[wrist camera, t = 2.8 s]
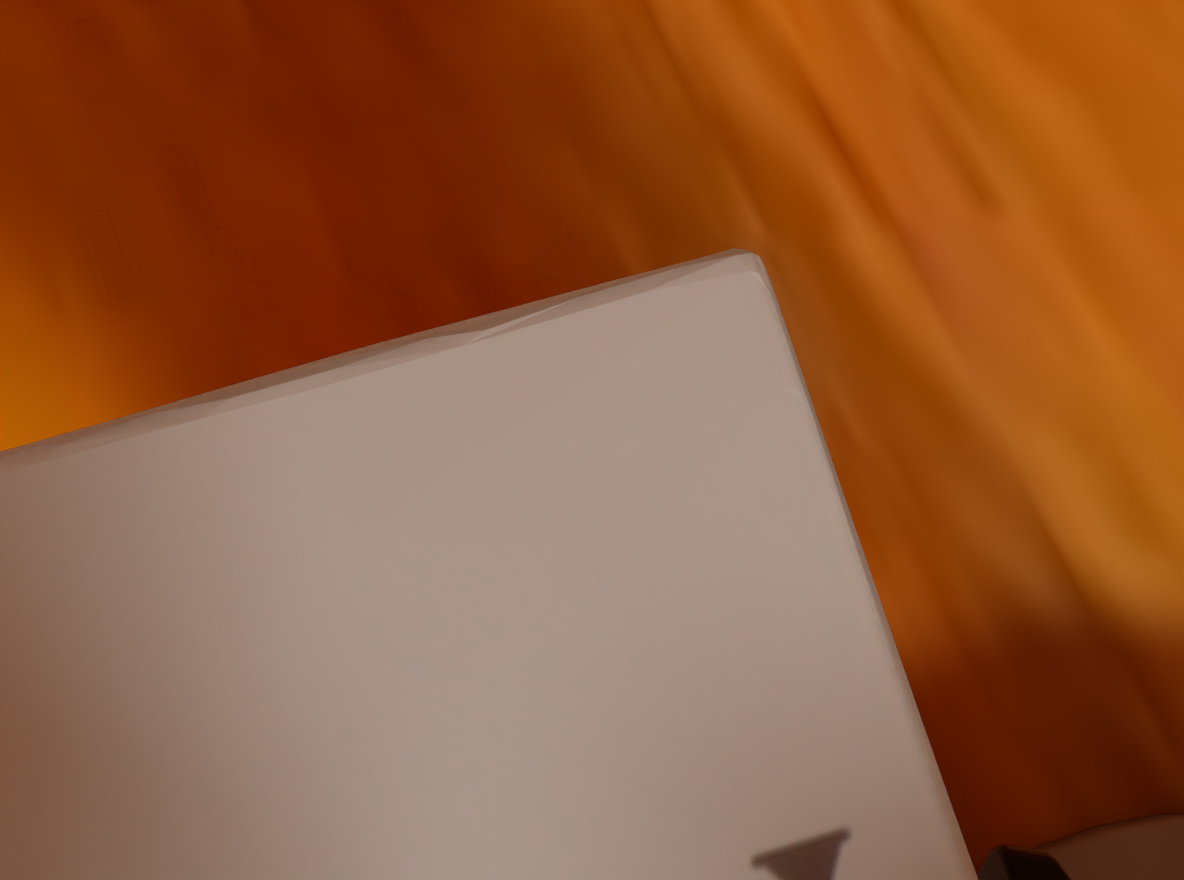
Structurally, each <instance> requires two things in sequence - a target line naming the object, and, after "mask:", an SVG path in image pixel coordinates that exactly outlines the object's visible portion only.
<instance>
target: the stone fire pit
mask: <svg viewBox="0 0 1184 880" xmlns="http://www.w3.org/2000/svg"><path fill="white" fill-rule="evenodd" d="M1035 849H1038V850H1042V851H1045V852H1047V853H1049V854H1050V855H1051V856H1053V857H1054V858H1055V859H1056V860H1057V861H1058V862H1059V863H1060V865H1061V866H1062V867H1063V869H1064V870H1065V871H1066V873H1067V874H1068V875H1069V877H1070V878H1071V879H1072V880H1184V814H1164V815H1153V816H1148V817H1142V818H1137V819H1132V820H1127V821H1121V822H1116V823H1111V824H1106V825H1100V826H1096V827H1093V828H1090V829H1088V830H1085V831H1082V832H1079V833H1076V834H1073V835H1070V836H1067V837H1064V838H1061V839H1058V840H1055V841H1052V842H1050V843H1047V844H1044V845H1041V846H1039V847H1037V848H1035Z"/></svg>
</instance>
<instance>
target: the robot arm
mask: <svg viewBox="0 0 1184 880" xmlns="http://www.w3.org/2000/svg"><path fill="white" fill-rule="evenodd" d="M977 878H978V880H1072V879H1071V878H1070V877H1069V875H1068V874H1067V873H1066V871H1065V870H1064V869H1063V867H1062V866H1061V865H1060V863H1059V862H1058V861H1057V860H1056V859H1055V858H1054V857H1053V856H1051V855H1050V854H1049V853H1047V852H1045V851H1042V850H1038V849H1032V848H1025V847H1019V846H1013V845H1007V844H1000V845H998V846H996V847H995V848H993V849H992V850H991V852H990V853H989V854H988V856H987V858H986V860H985V862H984V863H983V865H982V867H981V869H980V871H979V873H978V875H977Z"/></svg>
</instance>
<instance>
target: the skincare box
mask: <svg viewBox="0 0 1184 880" xmlns="http://www.w3.org/2000/svg"><path fill="white" fill-rule="evenodd" d="M0 880H978V878H977V875H976V872H975V869H974V866H973V864H972V861H971V858H970V855H969V853H968V850H967V847H966V844H965V841H964V839H963V836H962V833H961V830H960V827H959V825H958V822H957V819H956V816H955V813H954V811H953V808H952V805H951V802H950V799H949V797H948V794H947V791H946V788H945V785H944V782H943V779H942V776H941V774H940V771H939V768H938V765H937V762H936V759H935V756H934V754H933V751H932V748H931V745H930V742H929V739H928V736H927V733H926V731H925V728H924V725H923V722H922V719H921V716H920V713H919V711H918V708H917V705H916V702H915V699H914V696H913V693H912V690H911V688H910V685H909V682H908V679H907V676H906V673H905V670H904V668H903V665H902V662H901V659H900V656H899V653H898V650H897V647H896V645H895V642H894V639H893V636H892V633H891V630H890V627H889V625H888V622H887V619H886V616H885V613H884V610H883V607H882V604H881V602H880V599H879V596H878V593H877V590H876V587H875V584H874V581H873V578H872V576H871V573H870V570H869V567H868V564H867V561H866V558H865V555H864V552H863V550H862V547H861V544H860V541H859V538H858V535H857V532H856V529H855V526H854V523H853V521H852V518H851V515H850V512H849V509H848V506H847V503H846V500H845V497H844V495H843V492H842V489H841V486H840V483H839V480H838V477H837V474H836V471H835V468H834V466H833V463H832V460H831V457H830V454H829V451H828V448H827V445H826V442H825V440H824V437H823V434H822V431H821V428H820V425H819V422H818V419H817V416H816V413H815V410H814V407H813V404H812V401H811V399H810V396H809V393H808V390H807V387H806V384H805V381H804V378H803V375H802V372H801V369H800V366H799V363H798V360H797V357H796V355H795V352H794V349H793V346H792V343H791V340H790V337H789V334H788V331H787V328H786V325H785V322H784V319H783V316H782V313H781V310H780V308H779V305H778V302H777V299H776V296H775V293H774V290H773V287H772V285H771V282H770V279H769V277H768V274H767V271H766V268H765V266H764V264H763V262H762V260H761V258H760V256H758V255H756V254H754V253H752V252H750V251H748V250H745V249H730V250H727V251H723V252H719V253H716V254H712V255H709V256H705V257H702V258H698V259H694V260H691V261H687V262H683V263H679V264H675V265H671V266H667V267H664V268H660V269H656V270H652V271H648V272H644V273H640V274H636V275H633V276H629V277H625V278H621V279H617V280H613V281H610V282H606V283H602V284H598V285H595V286H591V287H587V288H583V289H580V290H576V291H572V292H568V293H565V294H561V295H557V296H553V297H549V298H546V299H542V300H538V301H534V302H531V303H527V304H523V305H519V306H516V307H512V308H508V309H504V310H500V311H497V312H493V313H489V314H485V315H482V316H478V317H474V318H470V319H466V320H463V321H459V322H455V323H451V324H448V325H444V326H440V327H436V328H433V329H429V330H425V331H421V332H417V333H414V334H410V335H406V336H402V337H399V338H395V339H391V340H387V341H383V342H380V343H376V344H372V345H369V346H365V347H362V348H358V349H355V350H351V351H348V352H344V353H341V354H337V355H334V356H330V357H327V358H323V359H320V360H317V361H313V362H310V363H306V364H303V365H299V366H296V367H292V368H289V369H285V370H282V371H278V372H275V373H271V374H268V375H264V376H261V377H257V378H254V379H251V380H247V381H244V382H240V383H237V384H234V385H230V386H227V387H223V388H220V389H216V390H213V391H210V392H206V393H203V394H199V395H196V396H193V397H189V398H186V399H182V400H179V401H175V402H172V403H169V404H165V405H162V406H158V407H155V408H152V409H148V410H145V411H141V412H138V413H134V414H131V415H128V416H124V417H121V418H117V419H114V420H111V421H107V422H104V423H100V424H97V425H93V426H89V427H86V428H82V429H79V430H75V431H72V432H68V433H65V434H61V435H58V436H54V437H51V438H47V439H44V440H40V441H37V442H33V443H30V444H26V445H23V446H19V447H15V448H12V449H8V450H4V451H0Z"/></svg>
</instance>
